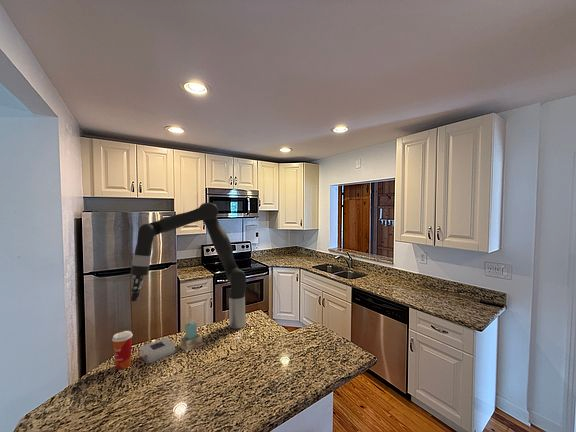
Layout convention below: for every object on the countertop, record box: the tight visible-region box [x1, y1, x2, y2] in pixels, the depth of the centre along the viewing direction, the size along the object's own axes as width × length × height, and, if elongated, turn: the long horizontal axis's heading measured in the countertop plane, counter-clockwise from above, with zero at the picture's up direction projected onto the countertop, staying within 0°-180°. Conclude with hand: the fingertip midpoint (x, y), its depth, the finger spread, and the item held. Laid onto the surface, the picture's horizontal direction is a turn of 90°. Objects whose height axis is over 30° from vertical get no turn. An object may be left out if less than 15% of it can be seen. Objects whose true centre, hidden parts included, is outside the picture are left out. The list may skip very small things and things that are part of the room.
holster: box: [177, 333, 206, 352], centre depth 129 cm, size 10×10×4 cm
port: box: [139, 337, 176, 367], centre depth 121 cm, size 12×10×5 cm
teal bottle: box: [184, 316, 198, 341], centre depth 129 cm, size 4×4×13 cm
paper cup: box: [111, 330, 134, 370], centre depth 113 cm, size 8×8×14 cm
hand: (134, 299), depth 122 cm, fingers open, 8 cm apart
